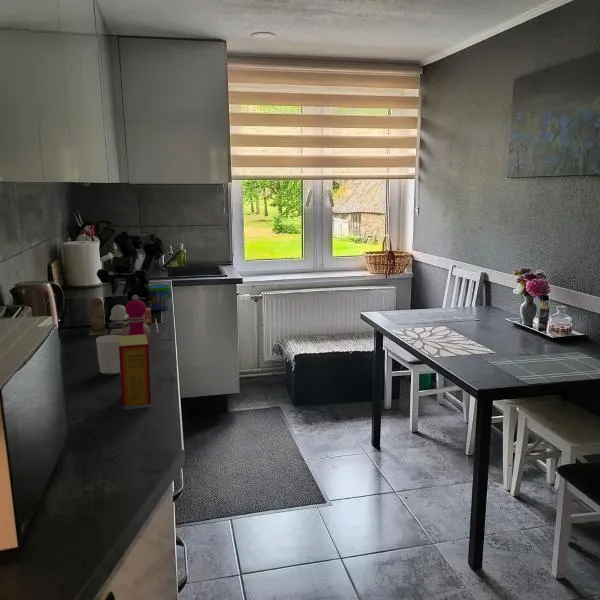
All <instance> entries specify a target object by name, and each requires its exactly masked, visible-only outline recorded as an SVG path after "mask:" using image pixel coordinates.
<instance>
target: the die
mask: <svg viewBox="0 0 600 600" xmlns="http://www.w3.org/2000/svg"><path fill="white" fill-rule="evenodd" d="M144 316H145V317H144V318H145V320H144V321H147V322H148V323H149V324H153V323H152V310H151V308H150V307H148V308H146V312H145V313H144ZM148 323H147V324H148Z"/></svg>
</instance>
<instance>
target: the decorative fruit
mask: <svg viewBox="0 0 600 600" xmlns="http://www.w3.org/2000/svg"><path fill="white" fill-rule="evenodd" d="M149 325H150V323H148V322H147V321H144V322H143V327H144V331H145V333H146V335H147V337H148V339H150V337H151V328H150V326H149ZM123 326H124V327H123ZM122 327H123V328H121V329H122V331H121V333H120V335H122V336H126V335H128V334H129V331H130V323H129V321H127V323H125V324H124V325H122Z"/></svg>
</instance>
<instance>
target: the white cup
mask: <svg viewBox="0 0 600 600" xmlns="http://www.w3.org/2000/svg"><path fill="white" fill-rule="evenodd" d="M118 336H122V335H121V334H105V335H102V336H98V337H97V338H96V339H95V341H96V351H97V359H98V360H97V361H98V365H99V373H100V372H101V373H119V372H120V358H119V338H118Z"/></svg>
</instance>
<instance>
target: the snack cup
mask: <svg viewBox="0 0 600 600" xmlns="http://www.w3.org/2000/svg"><path fill="white" fill-rule="evenodd" d="M148 285H149V288H150V290H151V292H152V300H150V301H148V308H151V311H165V310H167V309H168V306H169V302H170V301H169V300H171V298H172V291H171V289H172V286H171V285H169V284H162V283H161V284H148Z"/></svg>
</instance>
